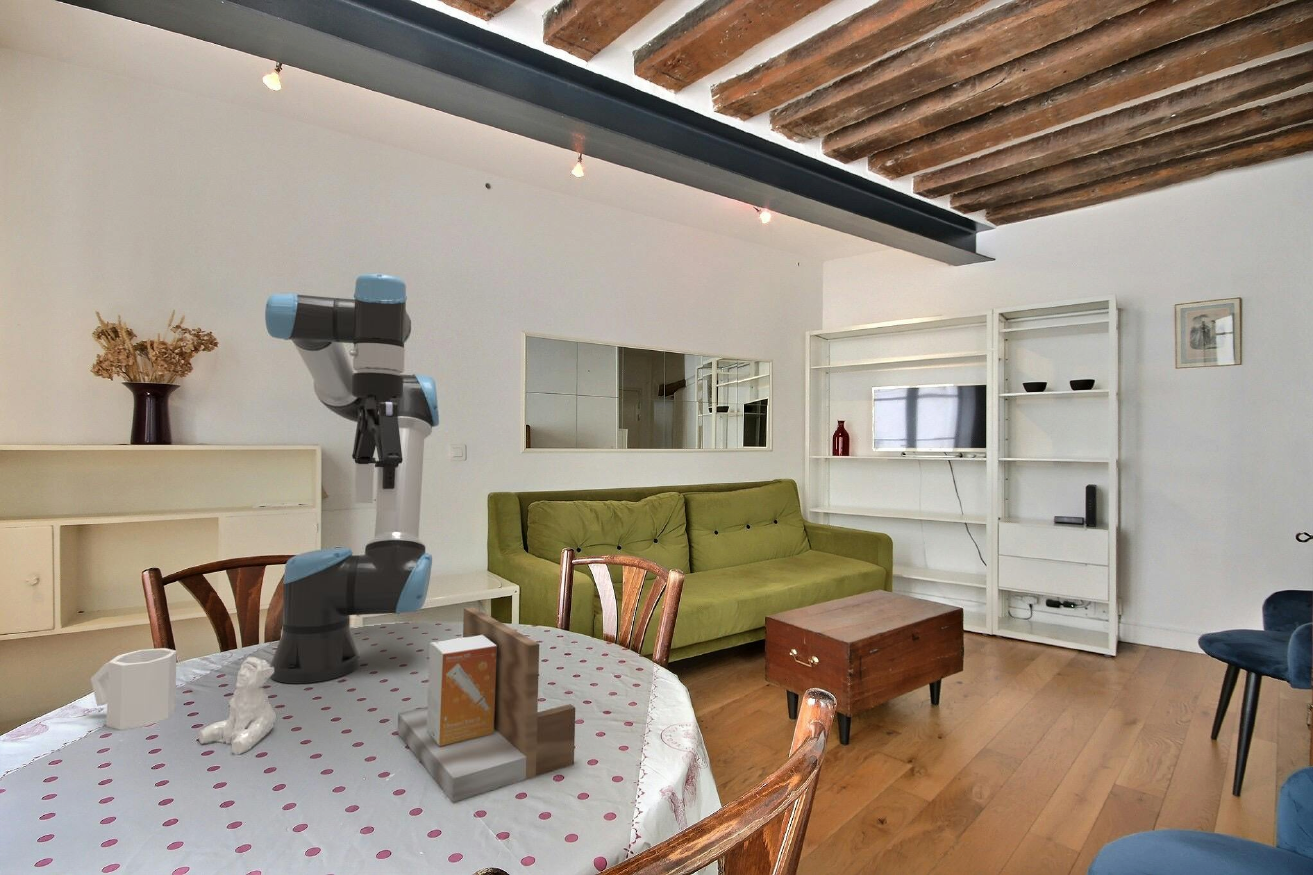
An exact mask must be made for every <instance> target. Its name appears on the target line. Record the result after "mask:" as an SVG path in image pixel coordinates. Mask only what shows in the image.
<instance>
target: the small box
mask: <svg viewBox="0 0 1313 875" xmlns="http://www.w3.org/2000/svg"><path fill="white" fill-rule="evenodd" d="M496 655H497V646H496V645H495V644H494V643H493V642H491V641H490V640H489V639H487V638H486V637H485V636H483V635H479V636H473V637H465V638H463V637H459V638H458V637H457V638H452V639H447V640H439V641H434V642H430V643H429V656H428V657H429V659H428V661H429V662H428V685H427V686H428V687H427V707H428V708H427V731H428V732H429V734H430V735H431V736H432V738H433V739H434V740H435V742H436V743H437V744H438V745H439V746H443V745H446V744H450V743H454V742H459V741H463V740H467V739H472V738H476V737H481V736H486V735H492V734H493V732H494V709H495V681H496Z"/></svg>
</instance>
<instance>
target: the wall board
mask: <svg viewBox="0 0 1313 875" xmlns="http://www.w3.org/2000/svg"><path fill="white" fill-rule="evenodd" d="M462 624H463V625H462V638H465V637H473V636H479V635H483V636H485V637H486V638H487V639H489V640H490V641H491V642H493V643H494V644H495V645H496V646H497V655H496V681H495V709H494V732H493V734H492V735H486V736H481V737H476V738H472V739H467V740H463V741H459V742H454V743H450V744H446V745H443V746H439V745H438V744H437V743H436V742H435V740H434V739H433V738H432V736H431V735H430V734H429V732H428V731H427V708H428V706H426V707H421V708H416V709H412V710H407V711H404V712H399V713H398V715H397V734H398V735H399V737H400V738H401V740H403V742H404V743H405V744H406V745H407V746H408V748H409V749H410V750H411V751H412V753H413V754H414V756H416V758H417V759H418V761H420V763H421V764H422V765H423V767H424V768H425V769H426V771H427V772H428V773H429V774H430V775H431V776H432V778H433V779H434V780H435V782H436V783H437V785H439V787H440V788H441V790H442V791H443V792H444V793H445V795H446V796H447V797H448V798H449V799H450V800H451V802H452V803H455V802H459V801H461V800H465V799H468V798H472V797H475V796H478V795H481V794H484V793H487V792H490V791H494V790H496V789H499V788H503V787H506V786H509V785H513V784H516V783H519V782H522V781H525V780H528V779H532V778H534V777H539V776H540V775H541V776H542V775H543V774H547V773H550V772H553V771H557V770H559V769H564V768H566V767H569V766H573V765H574V764H575V744H576V741H575V740H576V739H575V738H576V733H575V732H576V706H574V705H573V704H570V703H569V704H566V705H562V706H558V707H554V708H553V707H552V708H550V709H546V710H541V711H538V710H539V709H538V707H539V706H538V705H539V704H538V703H539V676H540V675H539V674H540V673H539V668H540V664H539V663H540V643H539V642H537V641H534V640H533V639H531V638H529V637H528V636H526V635H524V634H522V633H520V632H519V631H517V630H515V629H513V628H512V627H509V626H508V625H506V624H504V623H502V622H500V621H498V620H496V619H495V618H493V617H492V616H490V615H488V614H486V613H485V612H483V611H481V610H479V609H478V608H475V607H473V606H469V607H464V608H463V623H462Z"/></svg>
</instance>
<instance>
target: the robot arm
mask: <svg viewBox="0 0 1313 875" xmlns="http://www.w3.org/2000/svg"><path fill="white" fill-rule="evenodd" d="M354 289H355V290H354V294H353V298H343V297H342V298H340V297H330V296H328V297H327V296H319V295H318V296H317V295H308V294H307V295H306V294H297V293H295V292H294V293H274V294H272V295H270V296H269V297H268V299H267V301H266V303H265V304H266V305H265V312H264V313H265V314H264V319H265V325H266V326H265V327H266V330H267V333H268V334H269V336H270V337H272V338H275V339H279V340H281V339H282V340H284V341H289V340H291V341H292V343H293V344H294V346H295V348H296V350H297V351H298V354H299V355H300V357H301V359H302V360H303V363H304V365H305V366H306V368H307V369H308V371H309V372H308V373H310V375H311V377H312V379H313V390H314V393H315V395H316V397H317V399H318V400H319V401H320V402H321V404H323V405H324V407H326V409H328V410H330V411H331V412H333V413H334V414H336V415H338V416H339V417H342V418H343V419H347V420H349V421H351V422H355V423H357V424H356V429H355V430H356V431H355V437H354V441H353V442H354V444H353V450H352V454H351V457H352V460H354V462H355V467H354V468H355V471H354V472H355V473H354V474H355V475H354V500H353V501H354V504H373V500H374V472H375V471H374V470H375V468H376V492H375V494H376V495H375V496H376V497H375V512H376V517H375V525H374V527H375V528H374V537H373V538H372V539H371V540H370V541H369V542H368V543H367V544H365V548H364V554H360V555H359V554H358V555H353V550H352V549H351V547H347V546H345V547H330V548H324V549H323V548H322V549H317V550H311V551H307V552H304V553H299V554H296V555H295V556H292V557H290V558H289V559H288V560H287V562H286V563H285V566H284V573H283V574H284V575H283V580H282V584H283V592H282V593H283V594H282V595H283V598H282V629H281V636H280V638H279V641H278V644H277V647H276V649H275V651H274V654H273V657H272V659H271V662H270V667H274V673H273V674H272V675H271V677H270V678H271V679H272V680H274V681H276V682H280V683H285V684H310V683H319V682H324V681H328V680H332V679H333V680H334V679H336V678H341V677H343V676H345V675H348V674H350V673H352V672H353V671H355V670H356V668H357V667H358V665H359V664H358V661H359V659H358V658H359V654H358V651H357V647H356V644H355V642H354V638H353V635H352V632H351V630H350V616H359V615H360V616H361V615H362V616H363V615H366V616H367V615H388V614H396V615H400V614H405V613H414V612H418V611H420V610H421V609H422V608H423V607H424V605H425V601H426V599H427V595H428V591H429V585H430V580H431V574H432V573H431V572H432V566H433V556H432V554H431V553H428V552H426V544H425V543H424V542H422V541H421V540H420V538H419V534H420V520H421V502H422V500H421V499H422V484H423V469H424V468H423V467H424V454H425V453H424V452H425V451H424V450H425V439H426V438H428V437H429V436H431V434H432V432H433V427H434V428H435V427H437V426H439V425H440V420H439V419H440V415H439V407H438V396H437V395H438V394H437V386H436V382H435V379H434V378H433V377H431V376H429V375H420V374H416V373H413V374H403V373H404V372H405V350H406V349H405V343H406V342H407V341H408V340H409V338H410V336H411V332H412V320H411V318H410V315H409V314H408V312H407V310H406V308H407V307H406V305H407V304H406V303H407V299H408V297H407V287H406V283H405V281H403V279H401V278H399V277H396V276H393V275H389V274H383V273H364V274H360V275H359V276H358V277H357V278H356V280H355V288H354ZM344 343H345V344H346V343H347V344H353V349H350V350H349V355H350V356H351V357H353V358H352V363H351V361H350V359H349V356H348V353H347V351H346V348H345V346H344ZM375 451H376V452H377V458H378V460H377V459H376V457H374V454H375Z"/></svg>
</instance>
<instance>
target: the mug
mask: <svg viewBox="0 0 1313 875" xmlns="http://www.w3.org/2000/svg"><path fill="white" fill-rule="evenodd" d="M177 656H178V650H174V649H170V648H166V647H161V648H149V649H148V648H147V649H146V648H145V649H138V650H134V651H130V652H126V653H123V654H119V655H117V656H115V657H114V658H112V659H111V660H110V661H109V662H106V663H104V664H103V665H102V666H101V668H99V669H98V670H97V672H95V674H93V676H92V677H91V678H90V681H91V684H92V685H91V686H92V690H93V695H94V697H95V703H96V706H104V705H106V727H109V728H112V729H116V730H119V731H122V730H129V729H137V728H144V727H149V726H152V725H154V724H157V723H159V722H162V721H165V720H167V719H169V718H170V717H171V715H172V714H173V713H174V712H175V711H176V687H177V686H176V685H177V684H176V683H177V662H178V660H177V659H178V658H177Z"/></svg>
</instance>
